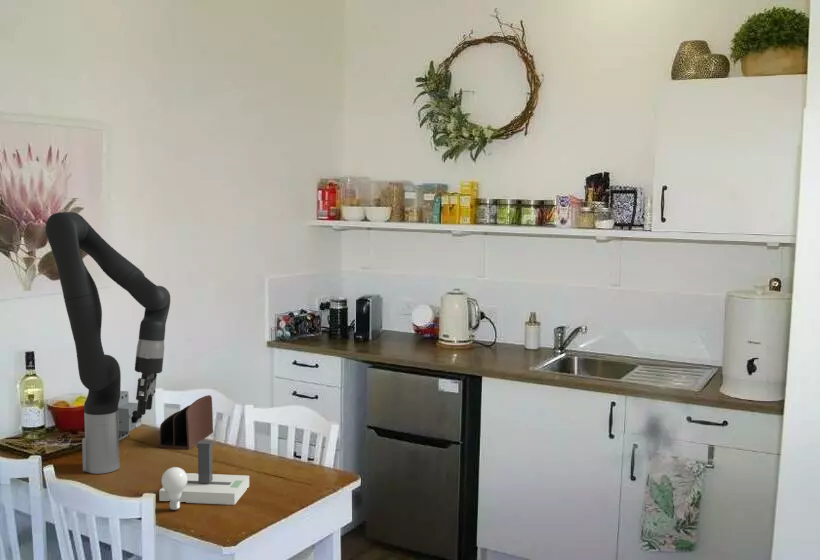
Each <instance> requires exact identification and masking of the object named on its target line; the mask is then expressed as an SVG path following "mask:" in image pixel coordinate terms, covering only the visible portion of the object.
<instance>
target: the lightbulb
mask: <svg viewBox="0 0 820 560" xmlns="http://www.w3.org/2000/svg"><path fill="white" fill-rule="evenodd" d="M186 473H187V472H186V471H185V470H184V469H183V468H181V467H180V466H179V467H177V466H172V467H170V468H168V469H166V470H165V471H164V472H163V474H162V476H161V482H160V483H161V486H162V487H163V488H164V489H165V490H166V492H167V494H168V498H169V501H170V502H168V503H169V509H170V510H172V511H177V510H179V509H180V508H181V502H180V498H181V495H182V491H183V489H184V488H185V486H186V484H187V480H188V478H187V474H186Z"/></svg>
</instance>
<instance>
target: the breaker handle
mask: <svg viewBox="0 0 820 560" xmlns="http://www.w3.org/2000/svg"><path fill="white" fill-rule="evenodd" d="M213 446H214V440H206V439H203V440H200V441H199V442H198V443H197V444H196V448H197V458H198V459H197V465H198V466H197V470H198V471H197V474H198V483H210V482H211V481H212V480H213V475H212V474H213Z"/></svg>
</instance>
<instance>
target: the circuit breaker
mask: <svg viewBox="0 0 820 560" xmlns="http://www.w3.org/2000/svg"><path fill="white" fill-rule="evenodd" d="M129 398H130V397H129V391H128V390H120V400H119V404H118V421H119V436H120V437H119V441H121V440H123V439H125V438H127V437H129V436H130V432H131V431H133V430H136V429H137V428H139V427H141V426H142V418H143V415H138V414H137V407H138V402H130V399H129ZM122 435H123V436H122ZM128 435H129V436H128ZM126 436H127V437H126Z"/></svg>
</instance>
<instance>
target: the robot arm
mask: <svg viewBox="0 0 820 560" xmlns="http://www.w3.org/2000/svg"><path fill="white" fill-rule="evenodd" d="M45 234H46V235H45V236H46V238H47V241H48V243H49V247H50V249H51V252H52V255H53V257H54V261H55V265H56V267H57V272H58V277H59V281H60V286H61V290H62V296H63V301H64V304H65V309H66V313H67V316H68V321H69V324H70V330H71V333H72V337H73V341H74V345H75V350H76V351H75V352H76V360H77V369H78V375H79V376H78V377H79V379H80V382H81V384H82V385H83V387H84V388H85V389H87V390H88V393H87V397H86V399H85V401H84V405H83V407H84V409H83V411H84V413H83V414H84V417H83V418H84V437H82V439H81V449H82V450H81V451H82V453H81V454H82V455H81V456H82V459H81V460H82V472H87V473H88V474H96V475H97V474H99V475H100V474H109V473H111V472H115V471H117V470H119V469H120V440H119V421H118V404H119V400H120V391H121V386H122V385H121V380H122V379H121V376H122V375H121V366H120V363H119V362H118V360H117V359H116V358H115V357H113V356H112V355H110V354H105V352H104V348H103V343H102V339H101V338H102V335H101V334H102V320H103V310H102V304H101V298H100V295H99V289H98V287H97V284H96V282H95V280H94V279H93V276H92V275H91V273H90V272H89V270H88V268H87V267H86V265H85V262H84V259H83V256H82V252H81V250H82V251H84V253H86V254H87V255H88V256H90V257H91V258H92V260H94V262H96V264H97V265H98V267H99V268H100V269H101V271H102V272H103V273H104V274H105V275H106V276H107V277H108V278H110V279H111V280H112V281H113V282H114V283H116V284H117V286H120V287H121V288H122V289H124V291H126V292H128V293H129V295H130V296H131V297H132V298H133V299H135V301H136V302H137V303H138V304H139V305H141V306H142V307H143V308H144V315H143V318H142V320H141V321H140V324H139V332H138V333H139V334H138V341H137V346H136V353H135V361H134V371H135V372H137V373H141V377H138V379H137V388H136V397H135V400H137V403H138V407H137V414H138V415H142V416H144V415H146V411H147V410H148V411H150V410H152V407H153V397H154V396H155V393H156V388H157V376H158V375H157V374H160V373H162V372H163V367H164V365H163V363H164V356H165V355H164V354H165V336H166V323H167V320H168V316H169V311H170V306H171V295H170V294H171V292H170V291H169V290H168V289H167V288H166V287H164V286H162V285H156V284H155V283H154V282H152V280H150V279H149V278H148V277H147V276H145V274H144V272H143V271H142V270H141V269H140V268H139V267H138V266H136V265H135V264H133V263H132V262H131V260H129V259H127V258H126V257H124V256H123V255H122V254H121V253H120V252H119V251H117V250H116V249H114V247H113V246H111V245H110V244H109V243H108V242H107V241H106V240H105V239H104V238H103V237H102V236H101V235H100V234H99V233H97V231H96V230H95V229H94V228H93V227H92V225H90V223H89V222H88V221H87V220H86V219H85V218H84V217H83V216H82V215H81V214H79V213H77V212H73V211H65V212H63V211H62V212H61V211H60V212H56V213H53V214H51V215H50V216H49V217H48V218H47V220H46V224H45Z"/></svg>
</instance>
